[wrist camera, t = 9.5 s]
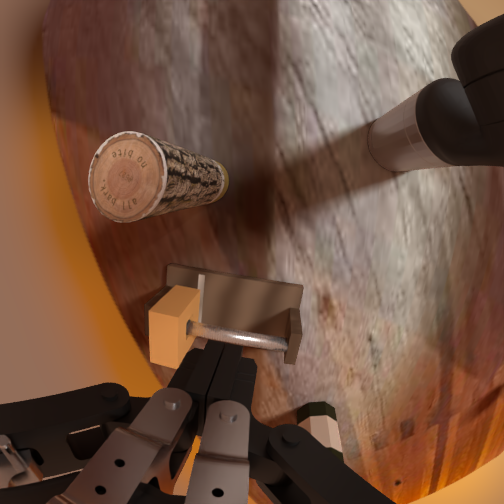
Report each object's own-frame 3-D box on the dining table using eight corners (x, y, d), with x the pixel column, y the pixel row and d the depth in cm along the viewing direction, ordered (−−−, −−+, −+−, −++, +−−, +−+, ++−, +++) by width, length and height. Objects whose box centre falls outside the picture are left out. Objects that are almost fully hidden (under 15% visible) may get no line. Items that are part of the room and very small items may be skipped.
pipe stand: (302, 285, 45) (308, 311, 35) (289, 348, 48) (289, 383, 38) (170, 263, 46) (144, 282, 36) (168, 325, 49) (145, 354, 39)
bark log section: (213, 211, 44) (135, 241, 19) (179, 188, 43) (76, 193, 19) (238, 175, 42) (182, 159, 18) (203, 152, 42) (115, 116, 17)
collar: (200, 289, 42) (178, 317, 33) (197, 334, 44) (177, 369, 35) (175, 284, 43) (148, 310, 33) (174, 329, 44) (150, 361, 35)
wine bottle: (305, 397, 50) (311, 532, 21) (342, 405, 49) (365, 530, 20) (289, 422, 52) (285, 545, 23) (324, 429, 51) (334, 546, 22)
